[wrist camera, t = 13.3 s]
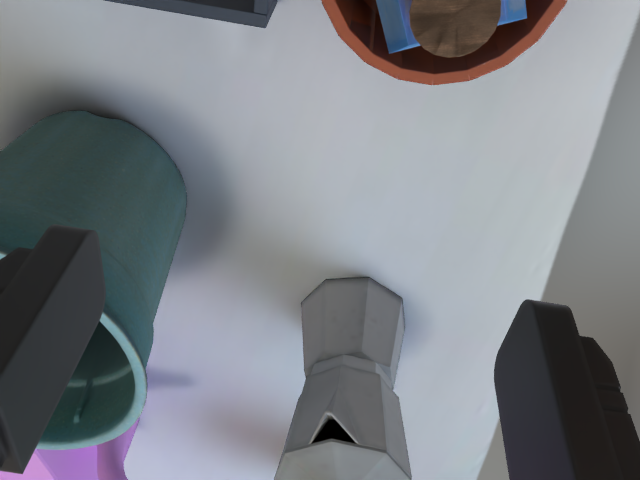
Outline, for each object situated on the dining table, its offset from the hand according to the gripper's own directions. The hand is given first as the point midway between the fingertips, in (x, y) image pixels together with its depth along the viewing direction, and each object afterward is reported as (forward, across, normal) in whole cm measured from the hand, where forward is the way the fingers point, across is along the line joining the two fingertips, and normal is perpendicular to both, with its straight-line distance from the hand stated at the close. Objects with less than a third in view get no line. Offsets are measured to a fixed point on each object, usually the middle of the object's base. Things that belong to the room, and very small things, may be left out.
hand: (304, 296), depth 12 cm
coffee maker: (+26, -4, +29) cm, 39 cm away
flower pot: (+27, +16, +19) cm, 36 cm away
